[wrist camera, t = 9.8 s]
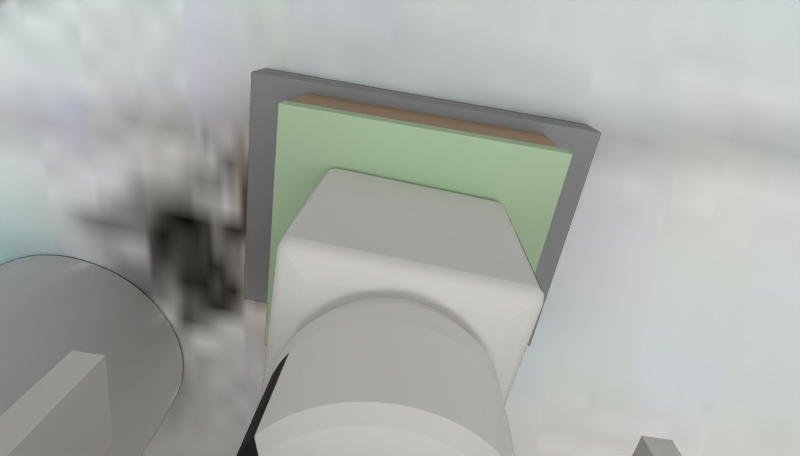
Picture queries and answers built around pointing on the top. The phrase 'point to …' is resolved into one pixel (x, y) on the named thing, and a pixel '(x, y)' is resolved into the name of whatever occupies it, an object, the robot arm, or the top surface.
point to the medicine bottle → (394, 324)
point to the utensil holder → (88, 340)
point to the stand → (405, 161)
